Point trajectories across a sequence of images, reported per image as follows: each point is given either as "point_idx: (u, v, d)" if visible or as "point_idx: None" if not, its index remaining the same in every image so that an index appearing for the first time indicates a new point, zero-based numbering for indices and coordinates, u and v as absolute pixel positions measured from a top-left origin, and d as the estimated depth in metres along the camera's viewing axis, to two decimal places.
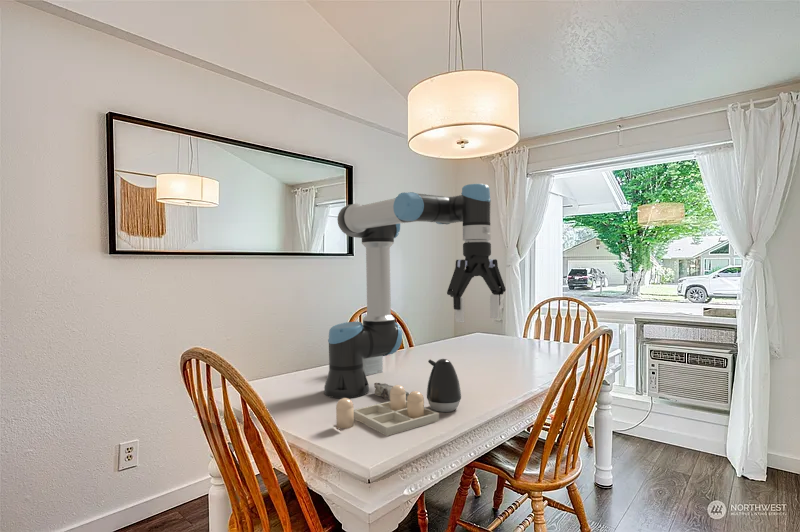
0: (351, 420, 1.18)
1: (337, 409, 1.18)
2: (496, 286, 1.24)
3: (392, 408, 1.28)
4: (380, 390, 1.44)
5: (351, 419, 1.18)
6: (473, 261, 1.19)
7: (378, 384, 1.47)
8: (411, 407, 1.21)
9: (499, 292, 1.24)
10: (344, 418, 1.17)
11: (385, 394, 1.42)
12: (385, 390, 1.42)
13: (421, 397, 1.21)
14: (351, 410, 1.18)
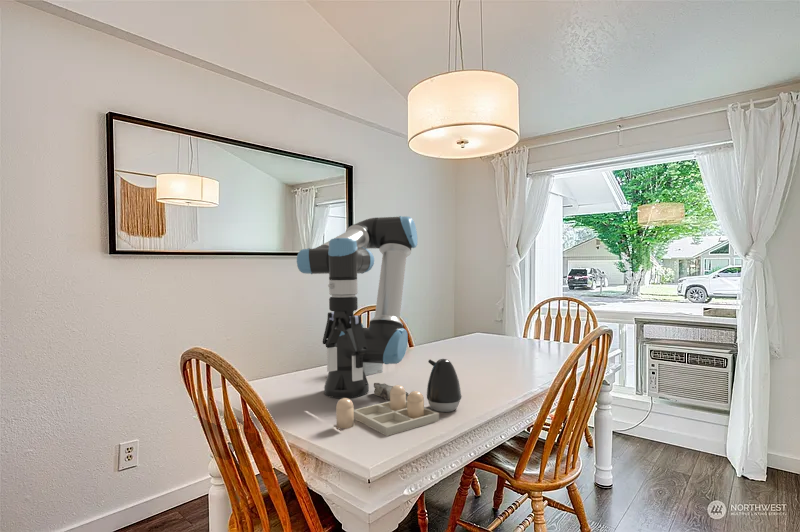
0: (351, 420, 1.18)
1: (337, 409, 1.18)
2: (351, 345, 1.13)
3: (392, 408, 1.28)
4: (379, 390, 1.44)
5: (351, 419, 1.18)
6: (335, 315, 1.20)
7: (377, 384, 1.47)
8: (411, 407, 1.21)
9: None
10: (344, 418, 1.17)
11: (384, 394, 1.42)
12: (384, 390, 1.42)
13: (421, 397, 1.21)
14: (351, 410, 1.18)
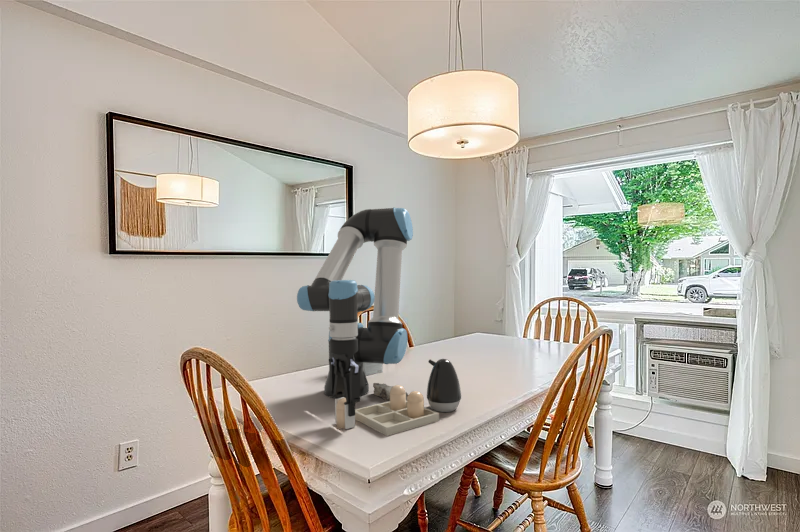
0: None
1: (337, 409, 1.18)
2: (346, 392, 1.16)
3: (392, 408, 1.28)
4: (379, 390, 1.44)
5: None
6: (335, 355, 1.21)
7: (377, 384, 1.47)
8: (411, 407, 1.21)
9: (346, 401, 1.16)
10: (344, 418, 1.17)
11: (384, 394, 1.41)
12: (384, 390, 1.42)
13: (421, 397, 1.21)
14: None
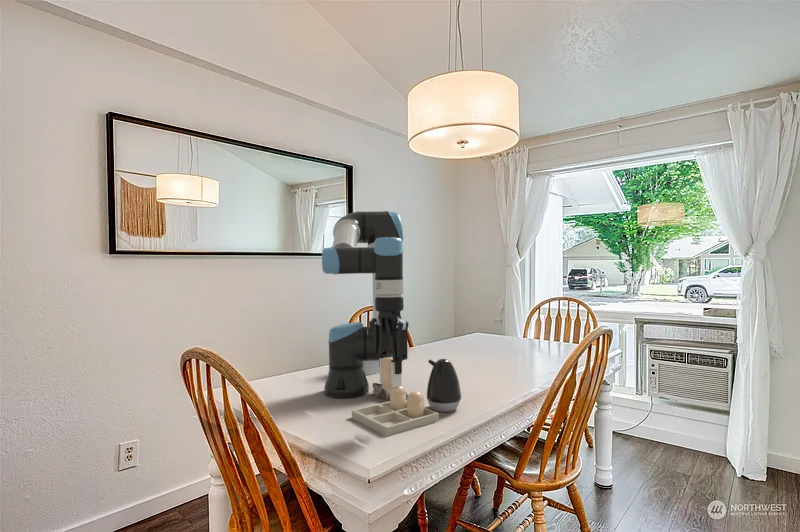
0: None
1: (383, 368, 1.16)
2: (392, 350, 1.15)
3: (392, 408, 1.28)
4: (378, 390, 1.44)
5: None
6: (380, 314, 1.19)
7: (376, 384, 1.47)
8: (411, 407, 1.21)
9: (393, 359, 1.14)
10: (390, 376, 1.15)
11: (383, 394, 1.41)
12: (383, 390, 1.42)
13: (421, 397, 1.21)
14: None
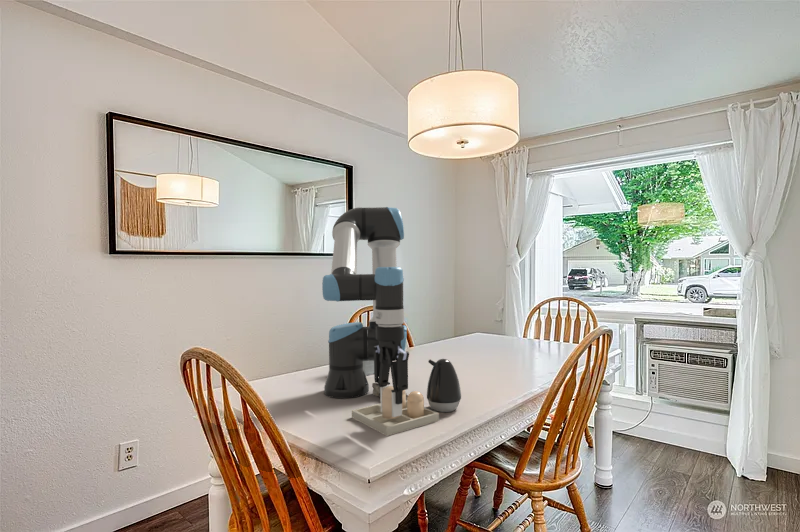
0: None
1: (383, 397, 1.16)
2: (393, 380, 1.15)
3: None
4: (378, 390, 1.44)
5: None
6: (380, 343, 1.19)
7: (376, 384, 1.47)
8: (411, 407, 1.21)
9: (394, 389, 1.14)
10: (391, 406, 1.15)
11: None
12: None
13: (421, 397, 1.21)
14: None
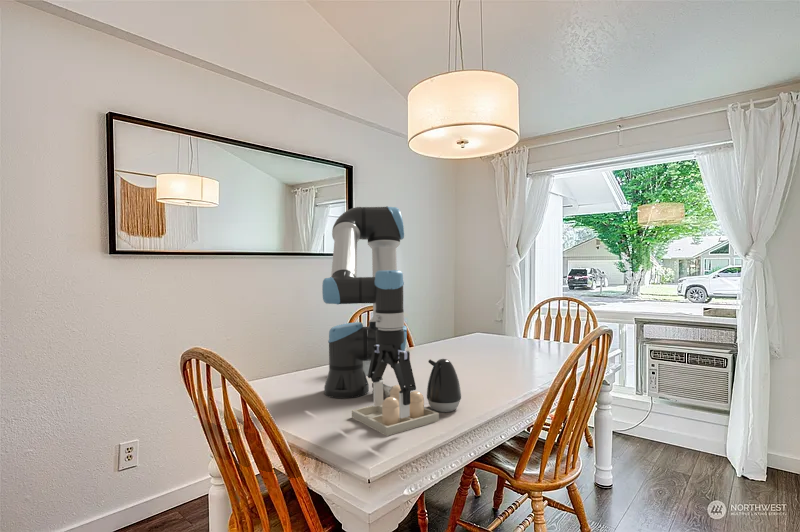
0: (398, 419, 1.16)
1: (383, 408, 1.16)
2: (399, 381, 1.13)
3: None
4: None
5: (398, 418, 1.16)
6: (381, 347, 1.19)
7: None
8: (411, 407, 1.21)
9: (401, 390, 1.12)
10: (391, 417, 1.15)
11: None
12: None
13: (421, 397, 1.21)
14: (398, 409, 1.16)
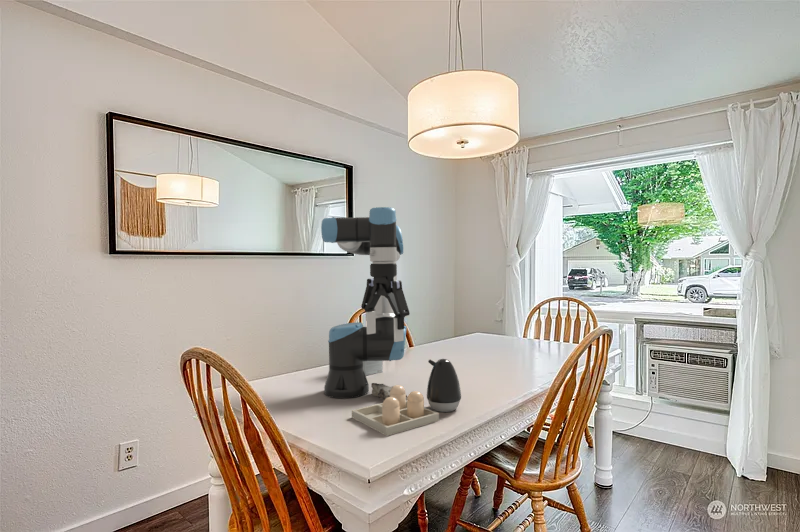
0: (398, 419, 1.16)
1: (383, 408, 1.16)
2: (393, 308, 1.20)
3: None
4: (377, 390, 1.44)
5: (398, 418, 1.16)
6: (375, 281, 1.27)
7: (375, 384, 1.47)
8: (411, 407, 1.21)
9: None
10: (391, 417, 1.15)
11: (382, 394, 1.41)
12: (382, 390, 1.42)
13: (421, 397, 1.21)
14: (398, 409, 1.16)
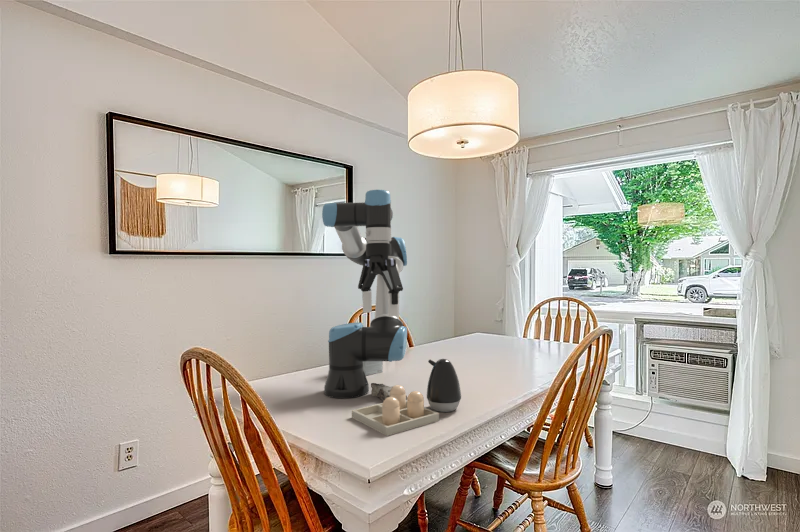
0: (398, 419, 1.16)
1: (383, 408, 1.16)
2: (387, 284, 1.26)
3: None
4: (376, 390, 1.44)
5: (398, 418, 1.16)
6: (371, 260, 1.33)
7: (375, 384, 1.47)
8: (411, 407, 1.21)
9: None
10: (391, 417, 1.15)
11: (381, 394, 1.41)
12: (381, 390, 1.42)
13: (421, 397, 1.21)
14: (398, 409, 1.16)
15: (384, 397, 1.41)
